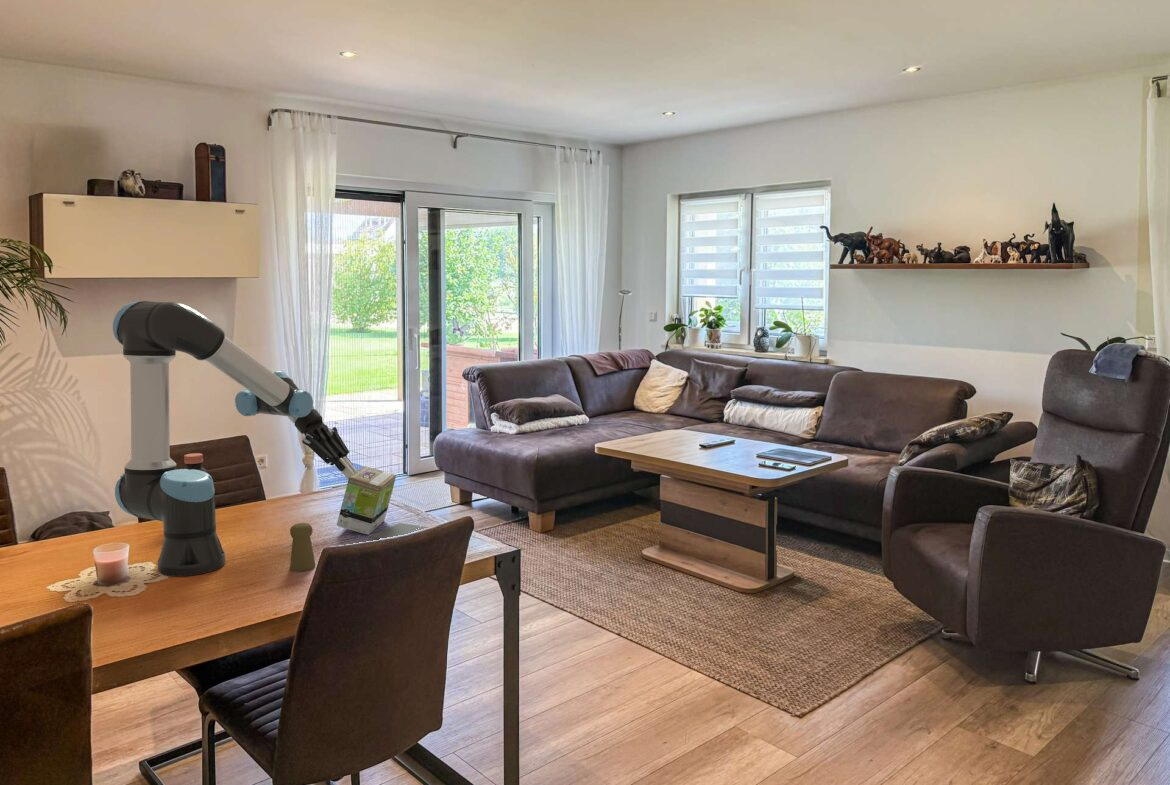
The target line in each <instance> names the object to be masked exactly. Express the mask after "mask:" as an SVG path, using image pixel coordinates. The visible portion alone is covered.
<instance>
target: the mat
mask: <svg viewBox="0 0 1170 785" xmlns="http://www.w3.org/2000/svg"><path fill="white" fill-rule="evenodd" d="M420 526H421V527H420ZM418 528H419V529H418ZM424 528H428V526H425V525H424V526H423V525H416V524H408V523H403V522H397V523H396V524H394V525H391V526H389V527H387V528H385V529H383V530H382V529H381V530H380V531H378V532H375V533H372V534H371V535H370V534H369V536H368V539H370V538H372V539H371V540H377V539H380V538H387V537H393V536H398V535H404V534H408V533H411V532H414V531H417V530H421V529H424ZM416 529H417V530H416Z"/></svg>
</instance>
